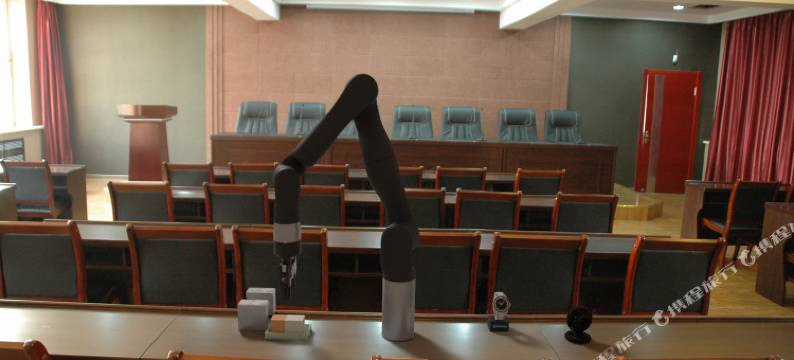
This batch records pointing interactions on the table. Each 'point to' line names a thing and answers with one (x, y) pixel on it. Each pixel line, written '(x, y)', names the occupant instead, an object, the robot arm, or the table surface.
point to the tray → (288, 334)
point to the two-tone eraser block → (288, 323)
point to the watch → (499, 313)
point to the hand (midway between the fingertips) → (288, 293)
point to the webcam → (579, 325)
